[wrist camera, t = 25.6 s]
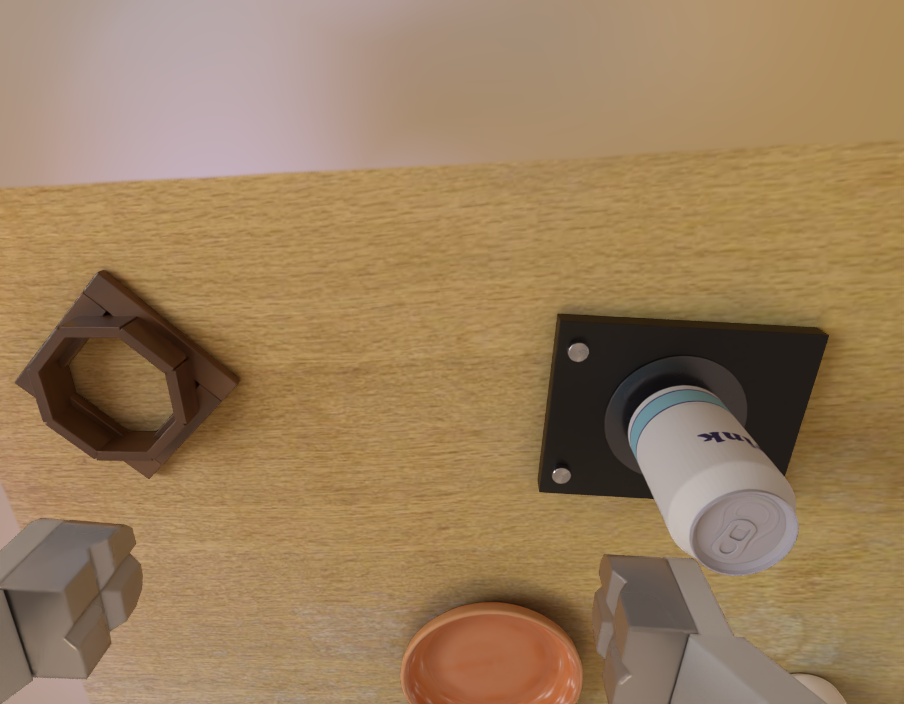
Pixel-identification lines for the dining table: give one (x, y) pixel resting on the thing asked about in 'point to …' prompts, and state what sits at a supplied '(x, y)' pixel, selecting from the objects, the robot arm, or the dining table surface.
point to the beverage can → (713, 482)
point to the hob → (659, 367)
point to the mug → (821, 688)
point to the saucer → (491, 659)
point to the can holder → (127, 317)
